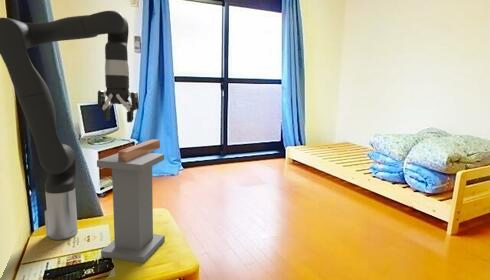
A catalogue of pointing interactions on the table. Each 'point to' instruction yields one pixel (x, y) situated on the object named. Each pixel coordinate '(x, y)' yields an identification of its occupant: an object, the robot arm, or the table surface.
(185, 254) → the table surface
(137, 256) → the stand
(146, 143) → the bar
